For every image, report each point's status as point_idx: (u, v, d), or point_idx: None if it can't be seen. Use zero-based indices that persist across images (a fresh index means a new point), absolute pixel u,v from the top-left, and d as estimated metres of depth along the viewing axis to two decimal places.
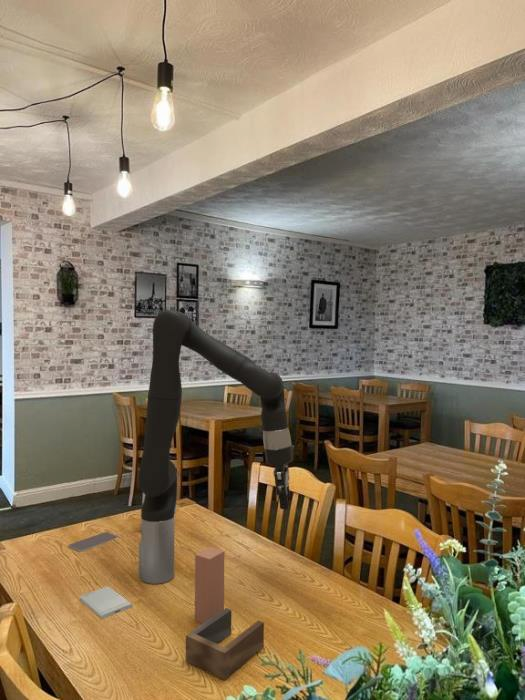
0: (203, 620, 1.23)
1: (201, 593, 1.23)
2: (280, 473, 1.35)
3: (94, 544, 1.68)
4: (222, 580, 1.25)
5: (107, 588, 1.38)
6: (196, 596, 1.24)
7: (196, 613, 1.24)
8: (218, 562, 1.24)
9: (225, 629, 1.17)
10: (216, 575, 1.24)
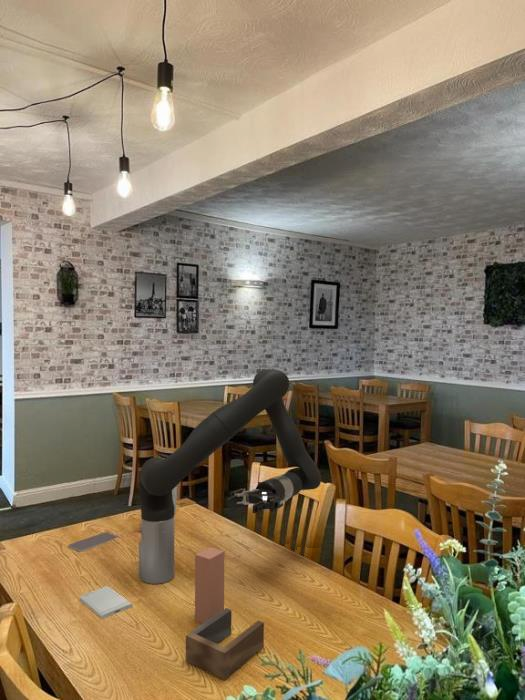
0: (203, 620, 1.23)
1: (201, 593, 1.23)
2: None
3: (94, 544, 1.68)
4: (222, 580, 1.25)
5: (107, 588, 1.38)
6: (196, 596, 1.24)
7: (196, 613, 1.24)
8: (218, 562, 1.24)
9: (225, 629, 1.17)
10: (216, 575, 1.24)
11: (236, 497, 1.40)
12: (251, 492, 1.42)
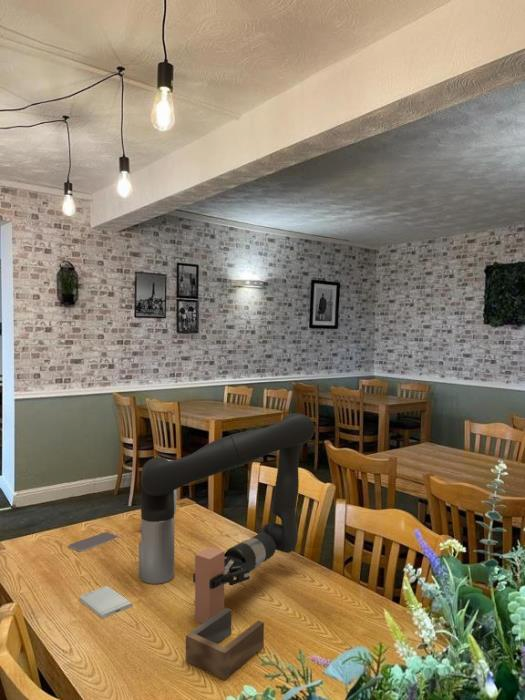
0: (204, 620, 1.23)
1: (201, 593, 1.23)
2: (249, 575, 1.27)
3: (94, 544, 1.68)
4: None
5: (106, 588, 1.38)
6: (196, 596, 1.24)
7: (196, 613, 1.24)
8: (218, 562, 1.24)
9: (225, 629, 1.17)
10: (216, 575, 1.24)
11: None
12: None
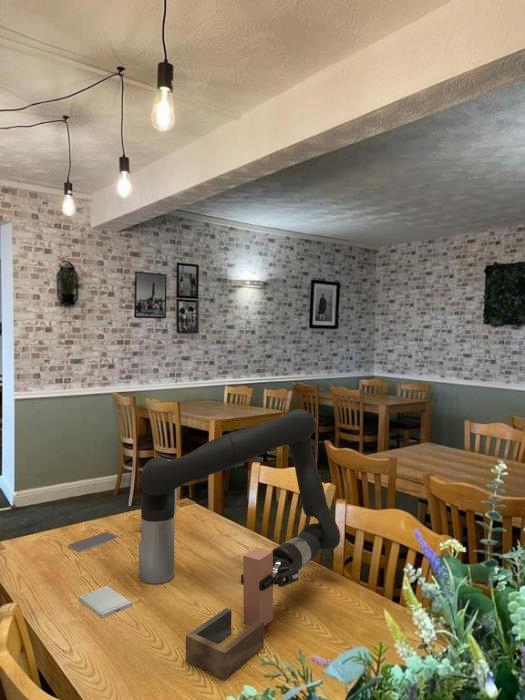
0: (253, 623, 1.18)
1: (250, 595, 1.19)
2: (298, 576, 1.23)
3: (94, 544, 1.68)
4: None
5: (106, 588, 1.38)
6: (245, 598, 1.19)
7: (245, 616, 1.20)
8: (267, 563, 1.20)
9: (225, 629, 1.17)
10: None
11: None
12: None
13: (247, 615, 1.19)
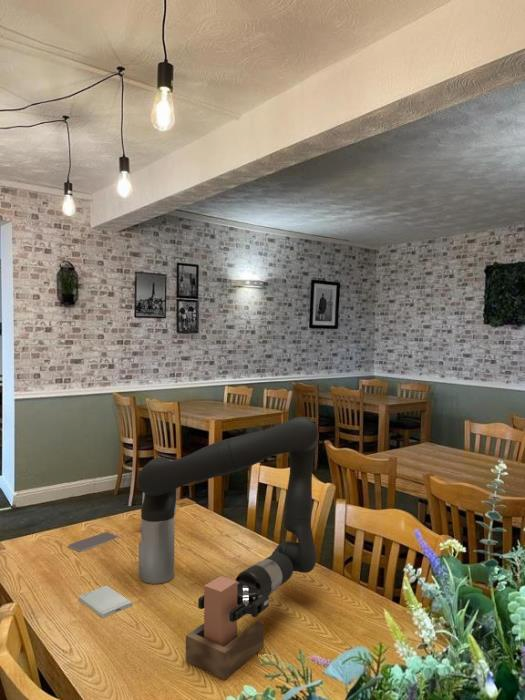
0: None
1: (211, 630, 1.08)
2: (268, 602, 1.12)
3: (94, 544, 1.68)
4: None
5: (106, 587, 1.38)
6: (205, 633, 1.08)
7: None
8: (230, 595, 1.08)
9: None
10: (228, 609, 1.08)
11: None
12: None
13: None
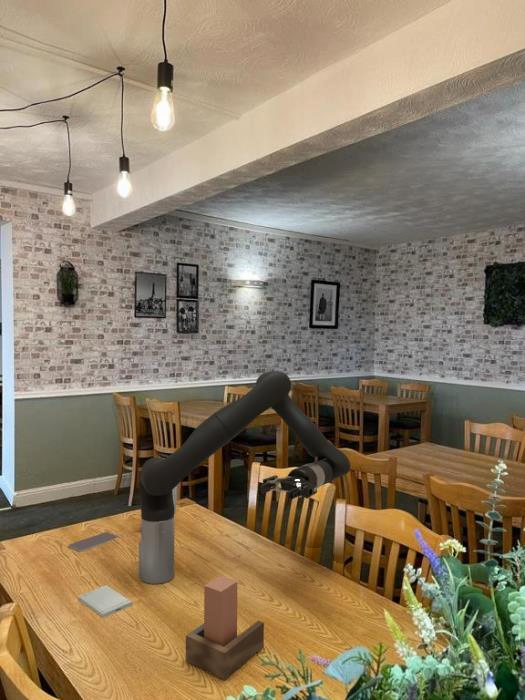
0: None
1: (211, 630, 1.08)
2: (316, 489, 1.38)
3: (94, 544, 1.68)
4: (235, 614, 1.10)
5: (105, 587, 1.38)
6: (205, 633, 1.08)
7: None
8: (230, 595, 1.08)
9: None
10: (228, 609, 1.08)
11: (269, 484, 1.38)
12: (284, 479, 1.40)
13: None
